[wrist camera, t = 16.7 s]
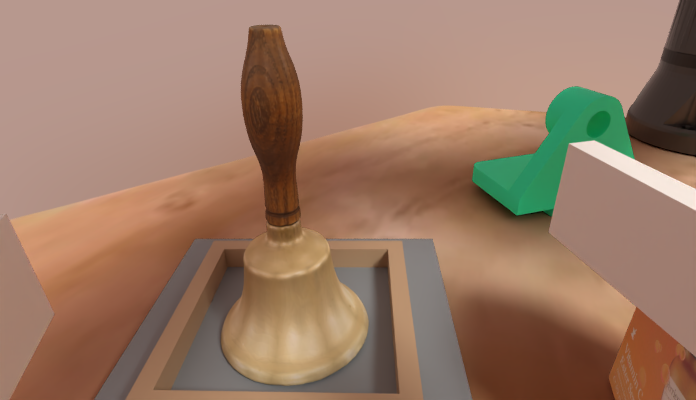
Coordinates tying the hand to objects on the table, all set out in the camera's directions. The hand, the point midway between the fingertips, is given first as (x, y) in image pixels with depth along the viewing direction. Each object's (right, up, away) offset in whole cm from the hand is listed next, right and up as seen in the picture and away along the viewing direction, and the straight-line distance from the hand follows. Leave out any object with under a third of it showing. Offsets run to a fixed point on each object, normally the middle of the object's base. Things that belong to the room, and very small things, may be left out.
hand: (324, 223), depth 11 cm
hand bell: (-2, -7, +14) cm, 16 cm away
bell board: (-2, -8, +14) cm, 17 cm away
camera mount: (+19, +1, +30) cm, 35 cm away
